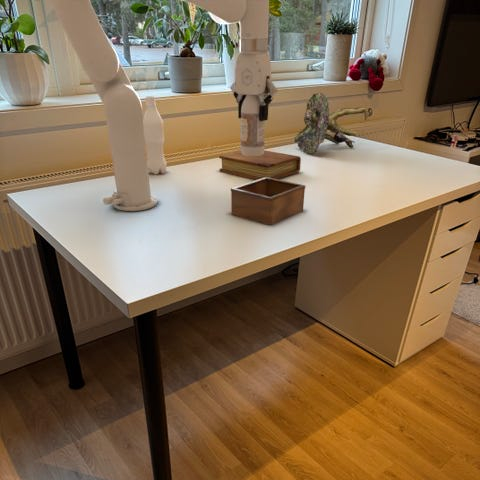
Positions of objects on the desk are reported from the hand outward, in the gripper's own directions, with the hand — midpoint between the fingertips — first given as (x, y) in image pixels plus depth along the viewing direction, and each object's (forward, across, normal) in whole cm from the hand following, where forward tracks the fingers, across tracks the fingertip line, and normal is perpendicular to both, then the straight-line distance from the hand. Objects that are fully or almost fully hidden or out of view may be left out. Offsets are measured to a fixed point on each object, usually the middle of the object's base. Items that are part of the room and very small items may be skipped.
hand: (252, 118), depth 129 cm
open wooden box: (+22, +14, -10) cm, 28 cm away
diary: (+22, -16, +24) cm, 36 cm away
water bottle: (+22, -44, -1) cm, 49 cm away
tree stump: (+22, -20, +75) cm, 81 cm away
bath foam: (+10, 0, 0) cm, 10 cm away
